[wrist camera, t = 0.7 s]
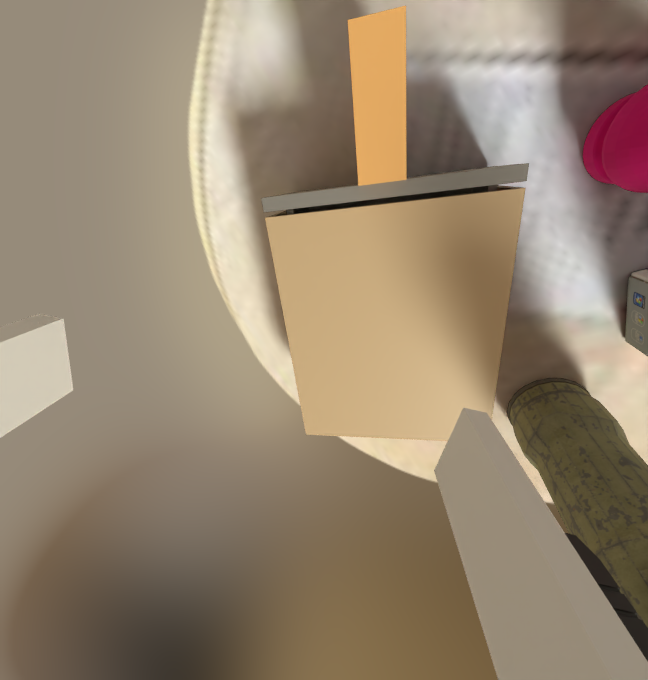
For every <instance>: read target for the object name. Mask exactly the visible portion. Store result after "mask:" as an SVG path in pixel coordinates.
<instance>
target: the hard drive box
mask: <svg viewBox="0 0 648 680" xmlns="http://www.w3.org/2000/svg"><path fill="white" fill-rule="evenodd" d="M625 341H626V342H627V343H629V344H630V345H632V346H633V347H635V348H636V349H638V350H639V351H641V352H642V353H644V354H645V355H646V356H648V269H646V270H641V271H637V272H633V273H632V275H631V276H630V277H629V282H628V297H627V317H626V334H625Z"/></svg>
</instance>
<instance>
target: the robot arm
mask: <svg viewBox="0 0 648 680" xmlns="http://www.w3.org/2000/svg"><path fill="white" fill-rule="evenodd" d="M71 391H73V385H72V377H71V370H70V364H69V356H68V349H67V341H66V335H65V327H64V320H63V318H59V317H55V316H50V315H46V314H41V313H39V314H36V315H33V316H30V317H27V318H24V319H21V320H18V321H15V322H12V323H9V324H7V325H4V326H1V327H0V438H1V437H2V436H4V435H5V434H7V433H8V432H10V431H11V430H13V429H14V428H16V427H18V426H19V425H21V424H22V423H24V422H25V421H27V420H28V419H30V418H31V417H33V416H34V415H36V414H37V413H39V412H41V411H42V410H44V409H45V408H47V407H48V406H50V405H51V404H53V403H54V402H56V401H57V400H59V399H60V398H62V397H63V396H65V395H66V394H68V393H70V392H71ZM434 471H435V475H436V478H437V481H438V484H439V487H440V491H441V494H442V497H443V501H444V504H445V507H446V511H447V513H448V517H449V520H450V524H451V527H452V530H453V533H454V537H455V540H456V543H457V546H458V550H459V553H460V556H461V560H462V563H463V566H464V569H465V573H466V576H467V579H468V583H469V586H470V589H471V592H472V595H473V599H474V602H475V605H476V608H477V612H478V615H479V618H480V622H481V625H482V628H483V632H484V635H485V638H486V641H487V644H488V648H489V651H490V654H491V658H492V661H493V664H494V668H495V671H496V674H497V677H498V680H648V627H647V626H646V625H645V623H644V622H643V620H640V619H639V618H638V617H637V614H638V613H637V612H636V610H635V609H634V607H633V606H632V605H631V603H630V602H629V600H628V599H627V597H626V596H625V595H624V594H621V592H620V587H619V586H618V585H617V583H616V582H615V580H614V579H613V577H612V576H611V575H610V573H609V572H608V570H607V569H606V567H605V566H604V565H603V563H602V562H601V560H600V559H599V558H598V557H597V556H596V555H595V554H594V553H593V552H592V551H591V550H590V549H589V548H588V547H587V546H586V545H585V544H584V543H583V542H582V541H581V540H580V539H579V538H578V537H577V536H576V535H572V534H568V533H564V531H563V530H562V528H561V527H560V525H559V524H558V522H557V521H556V519H555V518H554V516H553V514H552V513H551V511H550V510H549V508H548V507H547V505H546V504H545V502H544V501H543V499H542V497H541V496H540V494H539V493H538V491H537V490H536V488H535V487H534V485H533V483H532V482H531V480H530V479H529V477H528V476H527V474H526V473H525V471H524V470H523V468H522V466H521V465H520V463H519V462H518V460H517V459H516V457H515V456H514V454H513V453H512V451H511V449H510V448H509V446H508V445H507V443H506V442H505V440H504V439H503V437H502V436H501V434H500V432H499V431H498V429H497V428H496V426H495V425H494V423H493V422H492V420H491V419H490V417H489V415H488V414H487V413H486V412H481V411H477V410H472V409H468V408H463V409H462V412H461V414H460V416H459V418H458V420H457V422H456V425H455V427H454V429H453V431H452V433H451V435H450V438H449V440H448V442H447V444H446V446H445V448H444V451H443V453H442V455H441V457H440V459H439V461H438V464H437V466H436V468H435V470H434Z"/></svg>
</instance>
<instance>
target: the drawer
mask: <svg viewBox="0 0 648 680" xmlns="http://www.w3.org/2000/svg"><path fill="white" fill-rule="evenodd" d="M348 33H349V49H350V64H351V79H352V95H353V110H354V126H355V141H356V157H357V172H358V184H355V185H348V186H340V187H332V188H325V189H317V190H309V191H302V192H294V193H288V194H282V195H276V196H271V197H265V198H261V200H262V205H263V210H264V212H271V211H280V210H286V212H287V215H289V214H298V213H307V212H315V211H324V210H333V209H341V208H350V207H359V206H367V205H376V204H385V203H393V202H402V201H411V200H419V199H428V198H437V197H445V196H454V195H463V194H471V193H480V192H488V191H497V186H498V184H506V183H514V182H523V181H527V174H528V167H529V163H526V164H515V165H504V166H493V167H485V168H477V169H469V170H462V171H454V172H447V173H439V174H431V175H424V176H416V177H408V178H407V176H406V6H402V7H398V8H394V9H390V10H386V11H382V12H378V13H374V14H370V15H366V16H362V17H358V18H354V19H350V20H348Z"/></svg>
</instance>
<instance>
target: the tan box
mask: <svg viewBox="0 0 648 680" xmlns="http://www.w3.org/2000/svg"><path fill="white" fill-rule="evenodd" d="M524 194H525V188H521V187H510V186H499V185H498V186H497V191H488V192H480V193H471V194H463V195H454V196H445V197H437V198H428V199H419V200H411V201H402V202H393V203H385V204H376V205H367V206H359V207H350V208H341V209H333V210H324V211H315V212H307V213H298V214H289V215H287V212H286V211H284V212H281V213H278V214H275V215H272V216H269V217H266V218H265V221H266V226H267V231H268V237H269V242H270V247H271V252H272V258H273V263H274V268H275V273H276V279H277V284H278V289H279V295H280V300H281V305H282V310H283V316H284V321H285V326H286V331H287V337H288V342H289V347H290V352H291V358H292V363H293V368H294V373H295V379H296V384H297V389H298V394H299V400H300V405H301V410H302V415H303V421H304V426H305V431H306V434H308V435H328V436H350V437H372V438H393V439H415V440H437V441H448V440H449V438H450V435H451V433H452V431H453V429H454V427H455V425H456V422H457V420H458V418H459V416H460V414H461V412H462V409H463V408H468V409H472V410H477V411H481V412H486V413H487V414H488V415H489V417H490V419H491V420H492V414H493V407H494V400H495V393H496V386H497V380H498V373H499V366H500V359H501V352H502V345H503V338H504V332H505V325H506V318H507V311H508V304H509V297H510V290H511V284H512V277H513V270H514V263H515V256H516V249H517V242H518V236H519V229H520V222H521V215H522V208H523V201H524Z"/></svg>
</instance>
